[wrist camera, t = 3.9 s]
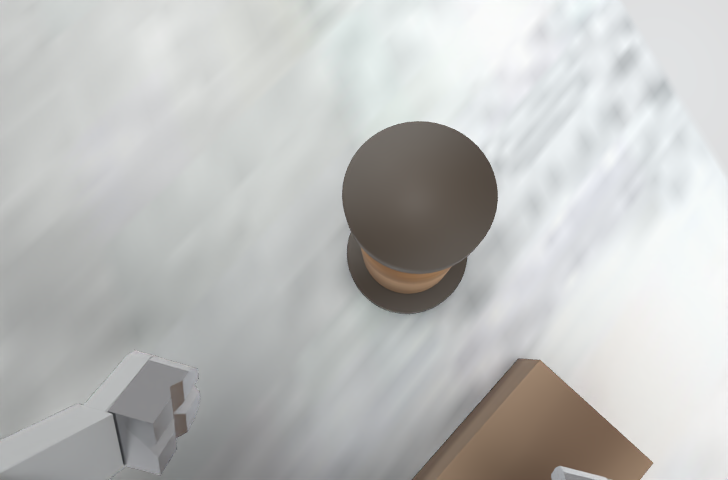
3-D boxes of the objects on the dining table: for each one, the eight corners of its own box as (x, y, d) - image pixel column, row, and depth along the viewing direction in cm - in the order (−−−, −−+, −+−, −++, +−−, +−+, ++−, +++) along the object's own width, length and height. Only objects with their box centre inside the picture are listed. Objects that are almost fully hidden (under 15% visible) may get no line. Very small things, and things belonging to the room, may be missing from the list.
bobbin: (324, 257, 22) (284, 196, 13) (403, 178, 23) (413, 70, 14) (409, 338, 21) (425, 330, 13) (488, 253, 22) (556, 188, 13)
